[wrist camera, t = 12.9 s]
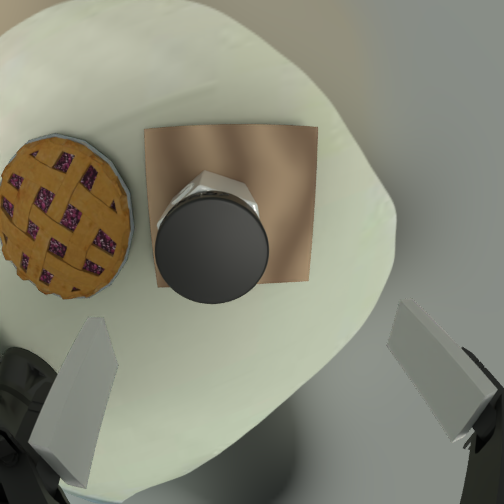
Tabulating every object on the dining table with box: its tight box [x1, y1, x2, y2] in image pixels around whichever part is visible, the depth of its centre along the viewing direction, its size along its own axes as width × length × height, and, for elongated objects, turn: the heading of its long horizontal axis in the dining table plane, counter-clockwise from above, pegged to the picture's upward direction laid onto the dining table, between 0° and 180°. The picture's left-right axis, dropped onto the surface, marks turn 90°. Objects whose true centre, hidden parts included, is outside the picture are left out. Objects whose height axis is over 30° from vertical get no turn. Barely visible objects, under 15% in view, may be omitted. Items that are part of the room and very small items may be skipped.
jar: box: [155, 170, 269, 304], centre depth 26 cm, size 9×8×12 cm
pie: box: [0, 133, 134, 299], centre depth 33 cm, size 22×22×5 cm
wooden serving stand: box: [144, 124, 318, 287], centre depth 34 cm, size 18×18×5 cm
